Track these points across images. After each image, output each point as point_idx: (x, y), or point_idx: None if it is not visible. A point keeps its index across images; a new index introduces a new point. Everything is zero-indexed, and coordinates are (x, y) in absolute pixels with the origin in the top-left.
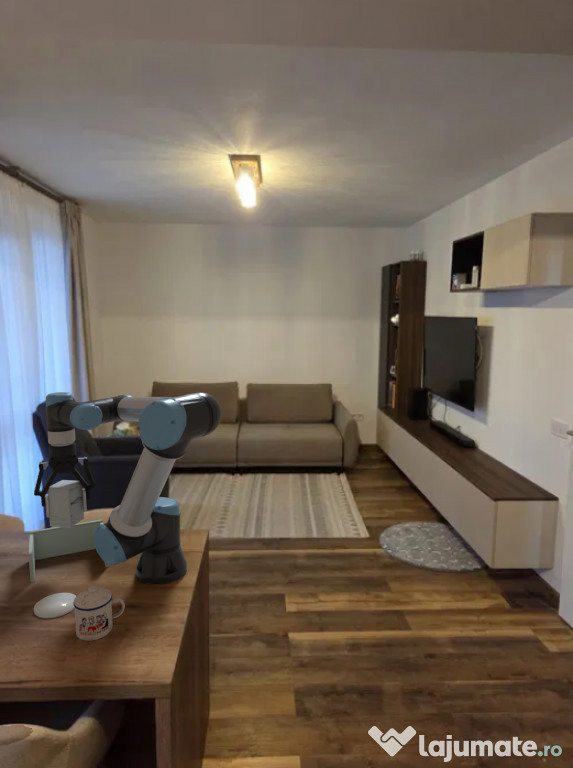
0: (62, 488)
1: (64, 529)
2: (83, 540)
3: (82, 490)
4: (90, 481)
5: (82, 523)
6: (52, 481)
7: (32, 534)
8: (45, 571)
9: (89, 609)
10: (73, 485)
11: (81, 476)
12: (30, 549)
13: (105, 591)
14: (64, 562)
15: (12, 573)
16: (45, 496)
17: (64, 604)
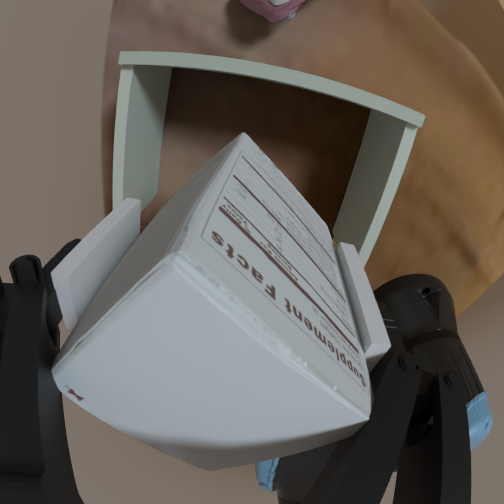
0: (167, 452)
1: (259, 77)
2: (326, 94)
3: (360, 350)
4: (407, 450)
5: (342, 94)
6: (67, 450)
7: (130, 70)
8: (187, 154)
9: None
10: (259, 460)
11: (382, 476)
12: (117, 202)
13: None
14: (245, 130)
15: (113, 119)
16: (64, 320)
17: None
